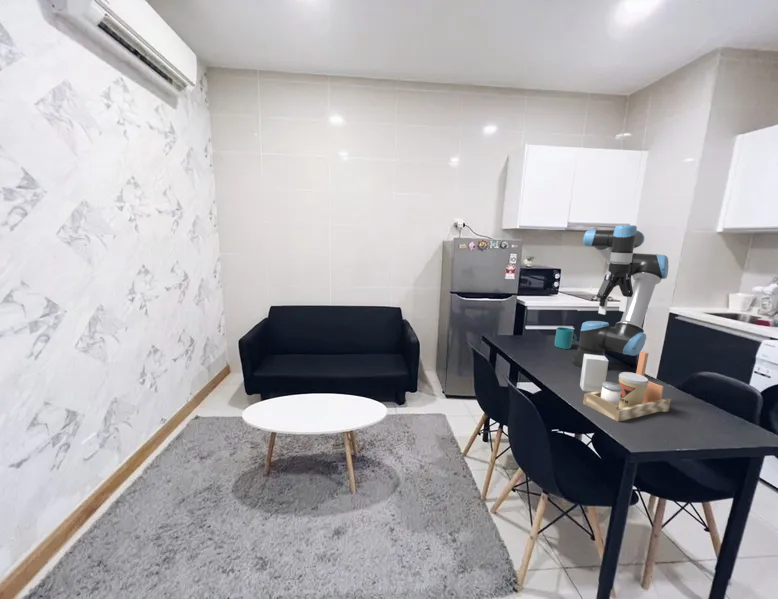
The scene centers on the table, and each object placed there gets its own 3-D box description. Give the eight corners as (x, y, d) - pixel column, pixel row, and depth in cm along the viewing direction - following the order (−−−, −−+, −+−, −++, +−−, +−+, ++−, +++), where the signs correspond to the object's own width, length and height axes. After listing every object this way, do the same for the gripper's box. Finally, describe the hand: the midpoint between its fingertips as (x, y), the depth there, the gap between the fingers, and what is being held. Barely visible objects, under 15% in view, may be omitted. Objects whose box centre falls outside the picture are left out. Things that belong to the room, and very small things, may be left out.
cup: (578, 350, 201) (581, 331, 199) (558, 349, 201) (561, 330, 199) (571, 345, 210) (573, 327, 207) (551, 344, 210) (554, 326, 208)
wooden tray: (631, 394, 143) (633, 382, 142) (668, 410, 131) (671, 397, 129) (582, 405, 133) (584, 391, 131) (617, 423, 120) (620, 408, 119)
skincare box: (600, 389, 147) (605, 355, 144) (604, 396, 141) (610, 360, 138) (578, 386, 150) (583, 352, 147) (581, 392, 144) (586, 357, 141)
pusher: (635, 394, 141) (643, 350, 138) (663, 406, 132) (673, 360, 128) (629, 395, 140) (637, 351, 137) (657, 407, 130) (667, 361, 127)
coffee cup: (608, 399, 136) (613, 371, 134) (630, 399, 137) (635, 371, 135) (626, 411, 127) (632, 381, 125) (649, 411, 128) (655, 381, 126)
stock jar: (605, 404, 132) (609, 380, 130) (621, 412, 126) (626, 387, 124) (594, 407, 129) (598, 382, 128) (610, 415, 124) (614, 389, 122)
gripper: (629, 261, 149) (622, 308, 154) (591, 262, 139) (584, 312, 144) (648, 263, 143) (639, 312, 147) (609, 264, 133) (601, 317, 137)
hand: (612, 312), depth 145 cm, fingers open, 13 cm apart
